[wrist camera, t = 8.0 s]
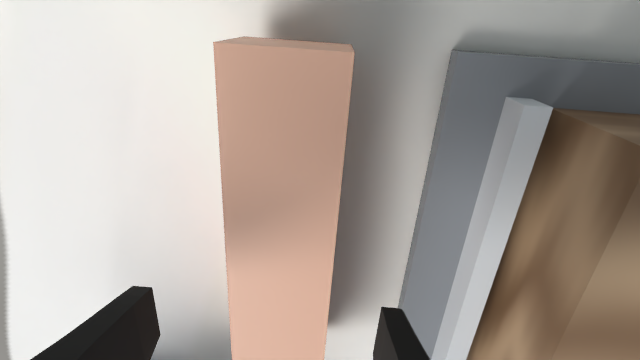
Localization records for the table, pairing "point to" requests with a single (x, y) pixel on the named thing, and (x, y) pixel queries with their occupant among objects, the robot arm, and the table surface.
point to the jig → (489, 178)
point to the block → (281, 188)
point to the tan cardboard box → (572, 249)
